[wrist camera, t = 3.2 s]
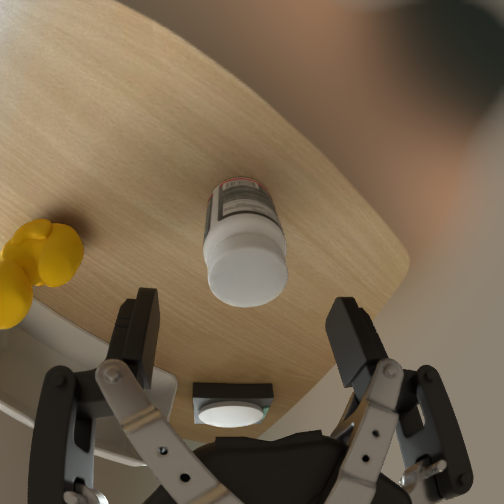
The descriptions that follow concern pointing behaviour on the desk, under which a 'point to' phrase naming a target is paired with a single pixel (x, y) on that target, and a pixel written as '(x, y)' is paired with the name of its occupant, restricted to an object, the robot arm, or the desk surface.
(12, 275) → the duckling
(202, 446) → the robot arm
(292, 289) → the desk surface
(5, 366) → the tank
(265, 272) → the pill bottle
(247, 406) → the scale
